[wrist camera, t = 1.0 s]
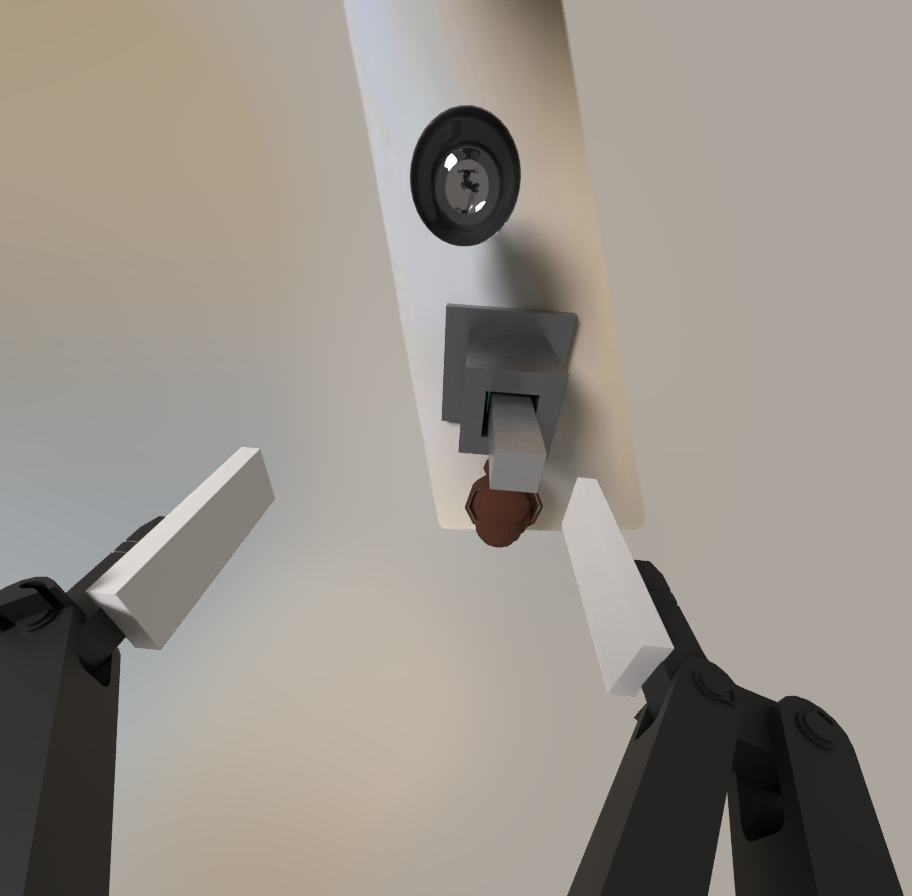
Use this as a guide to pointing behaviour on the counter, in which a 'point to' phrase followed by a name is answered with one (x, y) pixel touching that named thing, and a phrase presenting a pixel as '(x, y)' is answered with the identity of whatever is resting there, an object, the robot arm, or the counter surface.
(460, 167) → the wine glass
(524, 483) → the post
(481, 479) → the ice cream bowl
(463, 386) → the stand housing
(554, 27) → the counter surface
